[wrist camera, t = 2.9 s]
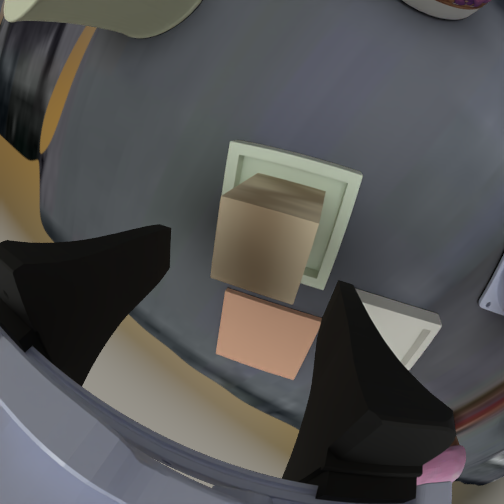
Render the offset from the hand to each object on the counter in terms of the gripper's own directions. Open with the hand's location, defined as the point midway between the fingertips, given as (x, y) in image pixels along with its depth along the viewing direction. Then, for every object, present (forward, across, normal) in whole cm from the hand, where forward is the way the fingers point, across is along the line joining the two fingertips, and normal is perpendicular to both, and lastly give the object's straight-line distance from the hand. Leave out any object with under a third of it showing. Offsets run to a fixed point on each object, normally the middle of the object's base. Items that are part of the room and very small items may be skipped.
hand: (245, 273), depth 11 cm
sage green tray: (+8, 0, 0) cm, 8 cm away
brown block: (+8, 0, 0) cm, 8 cm away
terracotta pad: (+8, -1, +12) cm, 14 cm away
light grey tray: (+8, -10, +8) cm, 15 cm away
